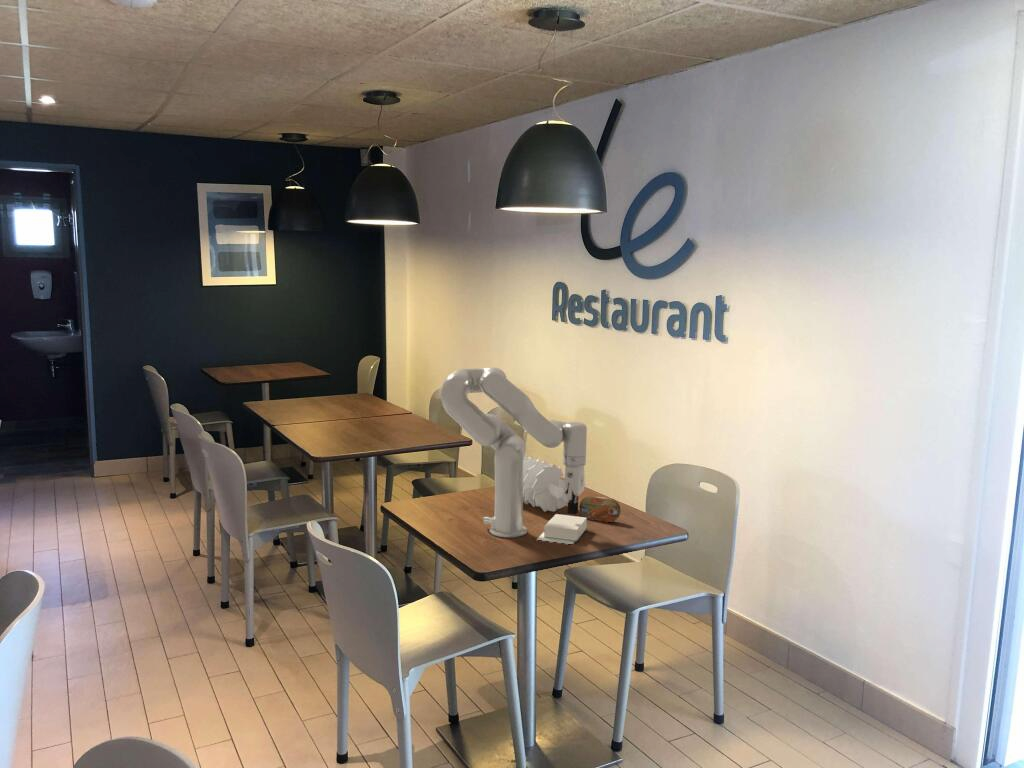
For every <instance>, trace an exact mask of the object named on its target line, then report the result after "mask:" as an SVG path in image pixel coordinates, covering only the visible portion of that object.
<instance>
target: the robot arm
mask: <svg viewBox="0 0 1024 768" xmlns="http://www.w3.org/2000/svg"><path fill="white" fill-rule="evenodd" d="M440 389H441V391H440V401H441V404H442V405H441V406H442V407H443V409H444V410H445V412H446V413H447V415H449V416H450V417H451V418H452V419H453V420H454V421H455V422H456V423H457V424H458V425H459V426H460V427H461V428H462V429H463V430H464V431H465V432H466V433H467V434H468V435H469V436H470V437H471V438H472V439H473V440H474V441H475V442H477V443H478V444H479V445H481V446H483V447H490V448H492V449H493V450H494V451H495V452H494V462H493V463H494V516H492V517H490V516H483V520H482V522H483V524H484V525H490V527H489V533H490V534H492V535H493V536H496V537H499V538H511V539H512V538H519V537H522V536H525V535H526V534H527V533H528V532H527V531H528V529H527V526H525V525H524V524H523V514H524V513H523V512H524V511H523V509H524V508H523V507H524V502H523V461H524V455H525V454H526V452H527V451H526V444H525V441H524V440H523V438H522V437H521V436H519V434H518V433H517V432H515V431H514V430H513V429H512V428H511V427H510V426H509V425H508V424H507V423H506V422H505V421H504V420H502V419H501V418H500V417H499V416H497V415H496V414H492V413H485V412H483V410H481V409H480V408H479V407H478V406H477V405H476V404H475V403H474V402H472V401H471V400H470V399H469V398H468V396H467V395H468V394H477V393H479V394H480V393H483V394H484V395H486V397H487V398H489V399H490V400H491V401H493V402H494V403H495V404H497V405H498V406H499V407H500V408H502V409H503V411H505V412H506V413H507V414H508V415H510V416H511V417H512V419H513V420H514V421H515V422H517V424H519V426H520V427H522V429H523V430H524V431H525V432H526V433H528V435H530V436H531V437H532V438H533V439H534V440H536V441H537V442H538V443H539V444H541V445H542V446H544V447H546V448H549V449H554V448H556V447H558V446H560V445H561V443H562V444H563V446H562V447H563V450H562V453H563V455H562V464H563V465H564V466H565V467H564V468H565V470H564V480H563V481H564V493H565V495H567V494H568V502H567V515H568V514H570V515H577V514H578V513H579V497H580V495H581V494H582V493H583V492H584V491H585V488H586V486H585V477H586V476H585V466H586V464H587V461H586V459H587V438H588V437H587V435H588V433H587V432H588V428H587V425H586V424H585V423H582V422H577V421H575V422H567V421H566V422H565V421H561V420H560V421H559V420H554V419H553V420H548V419H547V418H546V417H545V416H544V415H542V413H541V412H540V411H539V410H538V409H537V407H535V404H534V403H533V402H532V400H531V398H530V397H529V396H528V395H527V394H526V393H525V392H524V391H522V390H521V389H520V388H518V387H517V386H516V385H515V384H514V383H512V382H511V381H510V379H508V378H507V374H506V373H505V371H503V370H502V369H500V368H498V367H479V368H478V367H477V368H459V369H456V370H455V371H453V372H451V373H450V374H449V375H448V376H446V378H445V379H444V380H443V383H442V385H441V388H440ZM525 456H526V455H525Z"/></svg>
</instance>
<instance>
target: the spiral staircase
mask: <svg viewBox="0 0 1024 768" xmlns="http://www.w3.org/2000/svg"><path fill="white" fill-rule="evenodd" d="M562 470H563V469H562V467H561V466H556V464H554V463H550V464H548V462H547V461H546V460H544V459H543V460H542V461H540V459H534V458H532V457H531V456H529V457H527V456H526V455H524V461H523V504H524V505H526V504H527V505H528V504H530V505H531V506H532V507H533V508H535V507H540V508H541V510H542V511H543V512H544V513H547V511H549V512H555V511H556V512H557V510H559V509H562V508H564V507H565V506H567V504H568V494H567V495H565V493H564V480H562V479H561V478H563V477H564V474H563V471H562Z"/></svg>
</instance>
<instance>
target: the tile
mask: <svg viewBox="0 0 1024 768" xmlns="http://www.w3.org/2000/svg"><path fill="white" fill-rule="evenodd" d="M587 520H588V519H587V518H585V517H583V516H576V515H568V514H561V513H560V514H558V513H555V514H554V515H553V517H552V518H550V520H548V522H547V523H546V524H545V525H544V526H543V528H544V529H543V532H544V538H552V539H559V540H567V541H575V542H574V543H576V542H577V541H579V539H580V538H581V537H582V535H583V534H585V532H586V530H587V524H588V523H587V522H588V521H587Z"/></svg>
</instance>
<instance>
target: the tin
mask: <svg viewBox="0 0 1024 768" xmlns="http://www.w3.org/2000/svg"><path fill="white" fill-rule="evenodd" d="M578 510H579V512H580V514H581V517H585V518H588V519H587V520H589V519H593V520H592V521H595V520H598V521H597V522H602V521H604V522H603V523H608V522H610V523H612V522H613V523H614V522H616V520H618V519H619V517H620V514H621V506H620V504H619V502H618V501H617V500H615V499H613V498H610V497H601V496H596V495H595V496H594V495H587V496H586V497H583V498H582V499H581V501H580V502H579V504H578Z"/></svg>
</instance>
